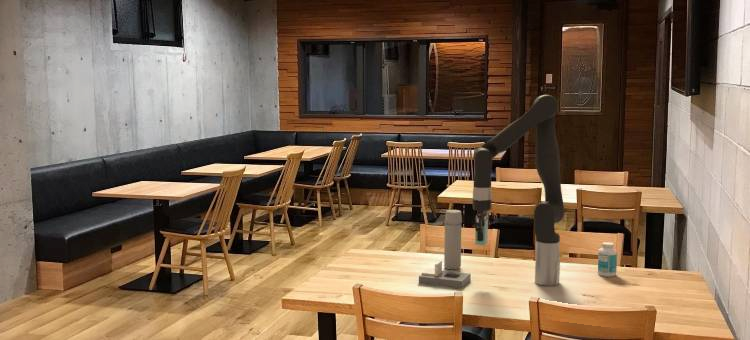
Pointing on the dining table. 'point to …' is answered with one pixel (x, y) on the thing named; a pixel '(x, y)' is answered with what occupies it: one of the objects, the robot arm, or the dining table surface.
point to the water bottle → (452, 240)
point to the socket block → (446, 279)
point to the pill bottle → (607, 260)
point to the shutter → (434, 270)
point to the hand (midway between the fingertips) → (481, 239)
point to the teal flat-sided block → (485, 235)
